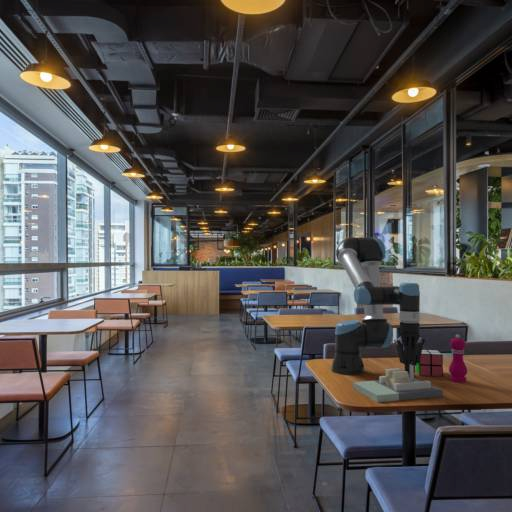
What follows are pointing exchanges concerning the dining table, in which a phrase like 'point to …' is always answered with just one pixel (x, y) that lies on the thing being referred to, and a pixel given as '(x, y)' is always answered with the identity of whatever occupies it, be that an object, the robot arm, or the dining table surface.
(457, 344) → the pepper mill
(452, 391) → the dining table surface
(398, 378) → the maple block
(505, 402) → the dining table surface
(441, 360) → the puzzle cube
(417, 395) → the pit deck
